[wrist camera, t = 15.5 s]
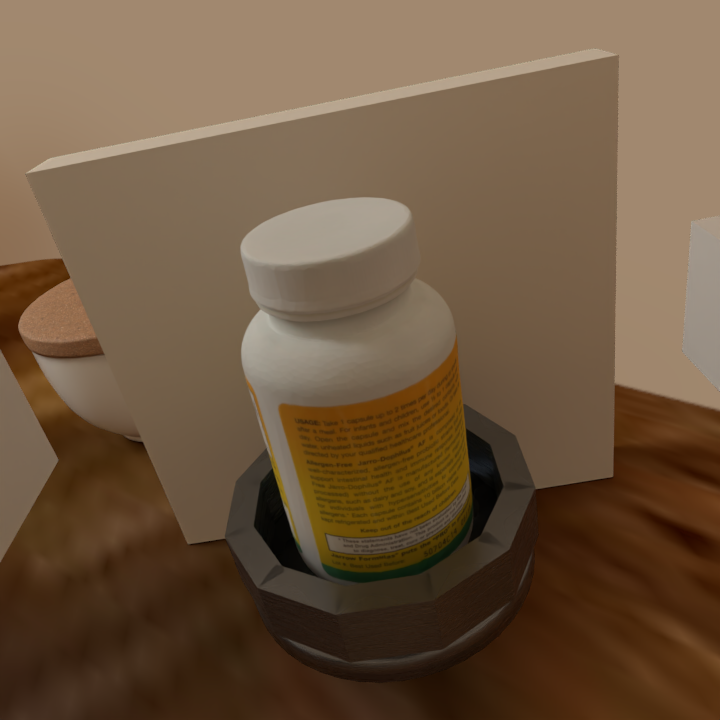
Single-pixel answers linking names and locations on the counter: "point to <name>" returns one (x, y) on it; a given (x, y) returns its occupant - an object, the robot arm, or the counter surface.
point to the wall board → (437, 268)
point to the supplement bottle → (357, 390)
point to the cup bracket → (399, 595)
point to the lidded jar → (75, 360)
